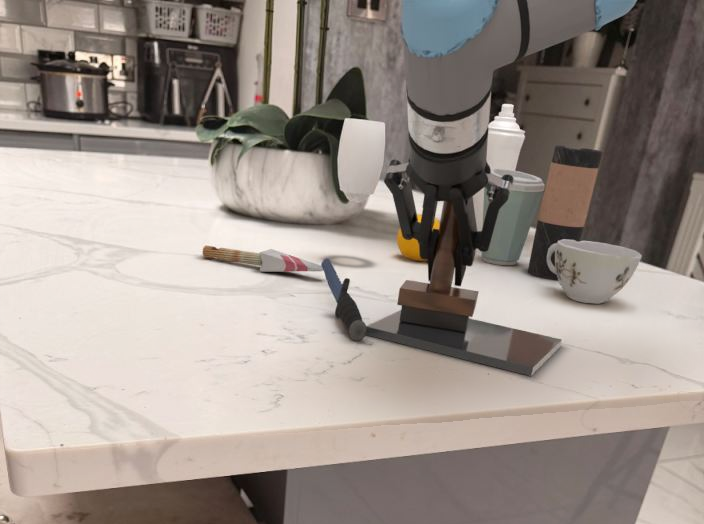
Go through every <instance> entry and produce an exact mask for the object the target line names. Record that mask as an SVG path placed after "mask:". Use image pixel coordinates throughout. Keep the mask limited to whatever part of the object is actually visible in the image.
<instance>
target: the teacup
mask: <svg viewBox="0 0 704 524" xmlns="http://www.w3.org/2000/svg"><path fill="white" fill-rule="evenodd" d="M554 251H555V267H554V265H553V264H552V262H551V255H552V253H553V252H554ZM642 257H643V256H642V254H641V253H640V252H639V251H637V250H635V249H632V248H628V247H625V246H620V245H617V244H610V243H606V242H599V241H591V240H590V241H589V240H580V242H577V241H574V240H566V239H562V240H560V241H558V242H557V243H555V244H553V245H551V246H550V248H549V249H548V253H547V264H548V267H549V269H550V270H551V271H552V272H553V273H555V274H556V275H557V277H558V280H557V281H558V283H559V284H560V286H561V289H562V290H563V291H564V293H565V295H566V298H568V299H570V300H572V301H576V302H578V303H584V304H598V305H600V304H605V303H606V302H607V301H608V300H609V299H610V298H612V297H613V296H615V295H616V294H617V293H618V292H620V291H621V290H622V289H623V288H624V287H625V286H626V285H627V284H628V283H629V281H630V280H631V279H632V278H633V275H634V274H635V272H636V270H637V268H638V266H639V264H640V263H641V260H642Z"/></svg>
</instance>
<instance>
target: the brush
mask: <svg viewBox="0 0 704 524" xmlns="http://www.w3.org/2000/svg"><path fill="white" fill-rule="evenodd" d="M439 223H440V226H439V232H438V238H437V244H436V250H435V256H434V261H433V267H432V273H431V279H430V281H429V283H428V282H422V281H416V280H410V279H406V280H404V282H403V283H402V284H401V286H400V287H399V290H398V297H397V306H401V308H400V310H401V314H400V321H402V322H408V323H414V324H420V325H426V326H432V327H438V328H444V329H450V330H456V331H462V332H465V331H466V328H467V325H468V321H469V318H473V316H474V313H475V310H476V306H477V301H478V297H479V292H480V291H479V290H474V289H467V288H460V287H456V286H453V280H454V276H455V252H456V249H457V245H458V242H459V239H460V235H459V229H458V223H457V217H456V213H454V210H453V204H452V203H450V202H447V201H442V208H441V214H440V220H439Z"/></svg>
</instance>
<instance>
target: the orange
mask: <svg viewBox="0 0 704 524" xmlns="http://www.w3.org/2000/svg"><path fill="white" fill-rule="evenodd" d="M421 217H422V214H420V213H419V214H417V218H418V222H420V223H421ZM434 221H435V222H434V226H433V229H439V226H440V220H438V219H437V218H436V217H435V219H434ZM433 229H432V231H433ZM396 237H397V238H396V241H397V242H396V244H397V248H398V250H399V252H400V253H401V254H402V255H403V256H404V257H405V258H407V259H409V260H412V261H419V262H428V260H426V259H421V257H420V252H419V251H420V250H419V243H418V241H417V240H416V239H414V238H412V239H411V240H406V239H404V238H403V236H402V232H401V228H400V227H399V229H398V232H397V236H396Z"/></svg>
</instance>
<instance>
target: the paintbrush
mask: <svg viewBox="0 0 704 524" xmlns="http://www.w3.org/2000/svg"><path fill="white" fill-rule="evenodd" d="M202 256H203V257H204V258H205V259H217V260H219V261H225V262H232V263H239V264H247V265H253V266H259V267H260V269H259V271H258V272H260V273H262V272H264V273H265V272H324V271H323V268H322V266H321V264H318V263H315V262H312V261H309V260H306V259H302V258H299V257H296V256H294V255H291V254H289V253H288V254H287V253H285V252H281V251H278V250H275V249H272V248H270V249H266V250H264V251H260V252H253V251H246V250H241V249H240V250H239V249H232V248H226V247H219V248H217V247H216V246H212V245H204V246H203V248H202Z"/></svg>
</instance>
